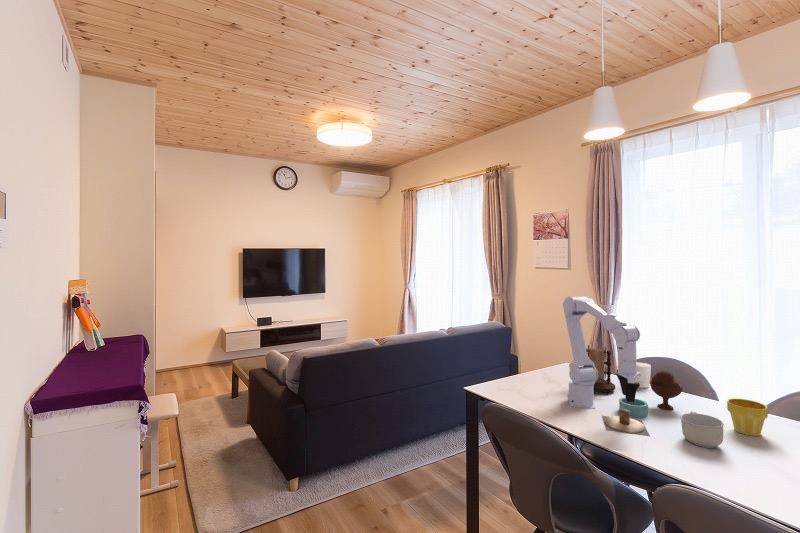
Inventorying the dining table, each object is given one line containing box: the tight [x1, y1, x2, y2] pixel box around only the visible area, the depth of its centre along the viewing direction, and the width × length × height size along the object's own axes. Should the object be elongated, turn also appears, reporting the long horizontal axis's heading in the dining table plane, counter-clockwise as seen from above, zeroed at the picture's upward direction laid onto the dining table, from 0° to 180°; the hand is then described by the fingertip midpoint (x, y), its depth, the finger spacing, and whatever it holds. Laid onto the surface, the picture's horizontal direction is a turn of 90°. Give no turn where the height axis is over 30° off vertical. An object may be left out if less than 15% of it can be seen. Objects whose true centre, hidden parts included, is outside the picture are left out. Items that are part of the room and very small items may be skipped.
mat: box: [601, 415, 651, 437], centre depth 136 cm, size 13×13×1 cm
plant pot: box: [726, 398, 769, 437], centre depth 131 cm, size 10×10×10 cm
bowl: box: [618, 397, 649, 419], centre depth 147 cm, size 9×9×4 cm
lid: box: [605, 408, 646, 434], centre depth 136 cm, size 12×12×5 cm
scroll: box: [583, 344, 616, 395], centre depth 175 cm, size 15×15×20 cm
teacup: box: [680, 411, 724, 449], centre depth 124 cm, size 14×11×8 cm
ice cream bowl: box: [649, 370, 684, 412], centre depth 152 cm, size 11×11×15 cm
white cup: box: [635, 361, 652, 389], centre depth 179 cm, size 8×8×10 cm
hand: (628, 398), depth 135 cm, fingers open, 7 cm apart
